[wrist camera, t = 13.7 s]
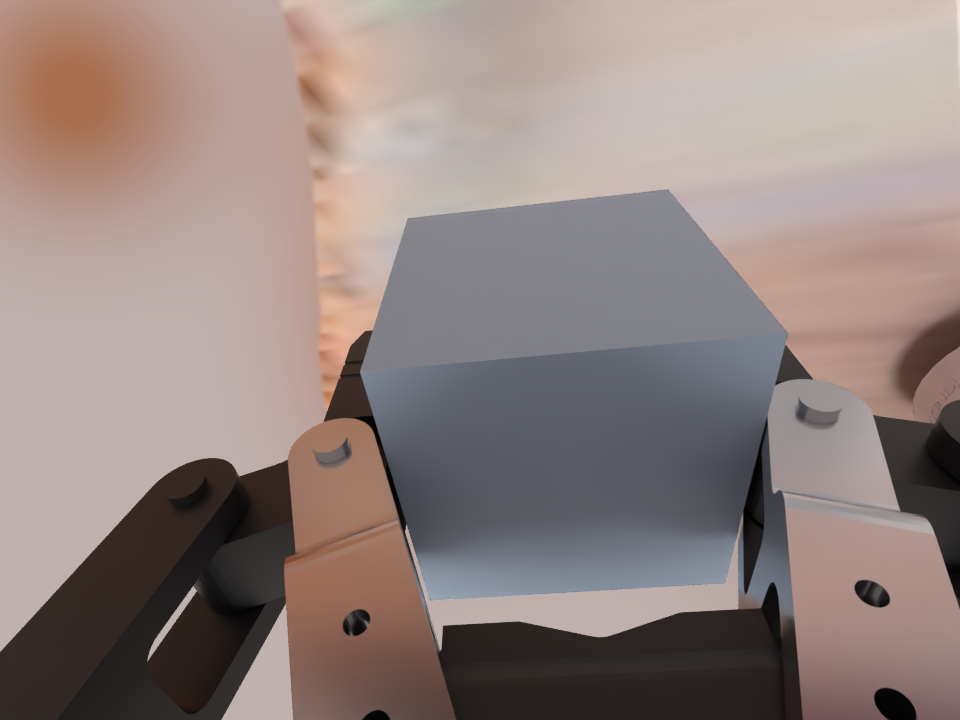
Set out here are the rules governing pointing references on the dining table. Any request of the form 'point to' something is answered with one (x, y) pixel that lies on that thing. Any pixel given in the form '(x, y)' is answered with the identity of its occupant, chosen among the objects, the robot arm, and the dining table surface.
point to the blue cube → (570, 396)
